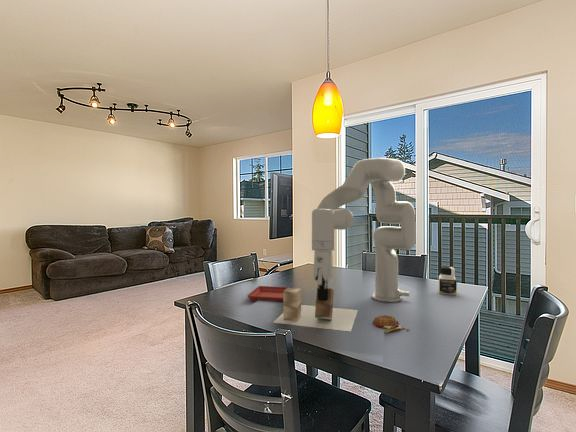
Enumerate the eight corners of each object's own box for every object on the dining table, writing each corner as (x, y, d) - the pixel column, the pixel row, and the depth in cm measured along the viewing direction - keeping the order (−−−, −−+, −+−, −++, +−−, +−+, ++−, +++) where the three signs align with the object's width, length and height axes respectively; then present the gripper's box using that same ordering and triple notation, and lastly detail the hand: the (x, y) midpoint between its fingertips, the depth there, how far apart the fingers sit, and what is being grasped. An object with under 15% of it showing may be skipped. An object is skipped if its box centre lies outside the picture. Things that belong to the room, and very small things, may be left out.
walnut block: (331, 319, 113) (333, 290, 116) (329, 319, 108) (331, 288, 112) (317, 318, 114) (319, 289, 118) (314, 317, 110) (317, 287, 113)
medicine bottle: (439, 293, 151) (439, 267, 151) (438, 289, 158) (438, 265, 158) (456, 295, 149) (456, 268, 148) (455, 291, 155) (455, 266, 155)
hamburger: (390, 341, 99) (391, 322, 99) (361, 326, 112) (361, 308, 112) (424, 333, 105) (424, 314, 105) (392, 319, 118) (392, 303, 118)
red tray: (258, 292, 155) (258, 285, 155) (296, 294, 152) (296, 287, 152) (246, 303, 138) (246, 295, 137) (288, 306, 134) (288, 297, 134)
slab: (357, 313, 124) (357, 310, 124) (350, 335, 103) (350, 331, 103) (292, 306, 131) (292, 303, 131) (273, 326, 110) (273, 322, 110)
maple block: (301, 316, 116) (301, 288, 116) (297, 321, 112) (297, 292, 111) (287, 315, 118) (287, 287, 117) (283, 319, 113) (283, 291, 113)
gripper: (330, 248, 101) (329, 307, 102) (337, 243, 116) (337, 295, 116) (306, 247, 104) (306, 305, 104) (316, 242, 118) (316, 293, 118)
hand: (322, 299), depth 110 cm, fingers closed
